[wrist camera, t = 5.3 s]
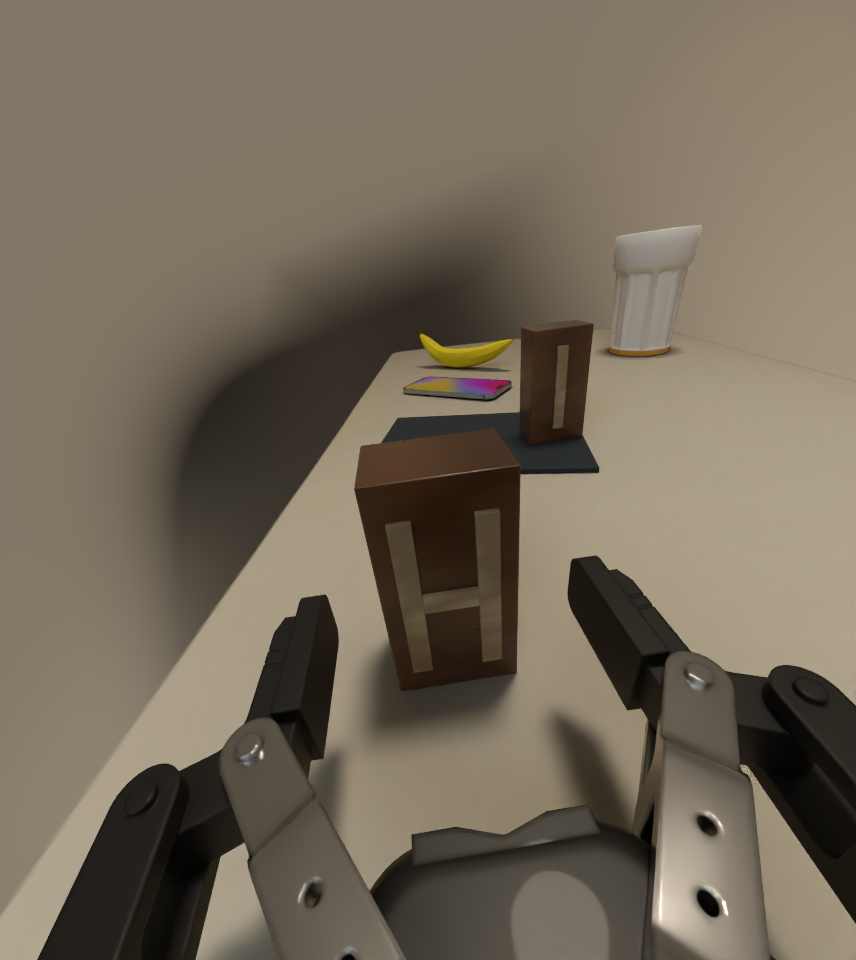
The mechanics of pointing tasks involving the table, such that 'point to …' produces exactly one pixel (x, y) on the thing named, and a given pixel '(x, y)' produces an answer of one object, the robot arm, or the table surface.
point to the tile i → (554, 380)
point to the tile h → (444, 553)
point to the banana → (463, 353)
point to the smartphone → (459, 387)
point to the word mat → (507, 425)
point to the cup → (649, 288)
